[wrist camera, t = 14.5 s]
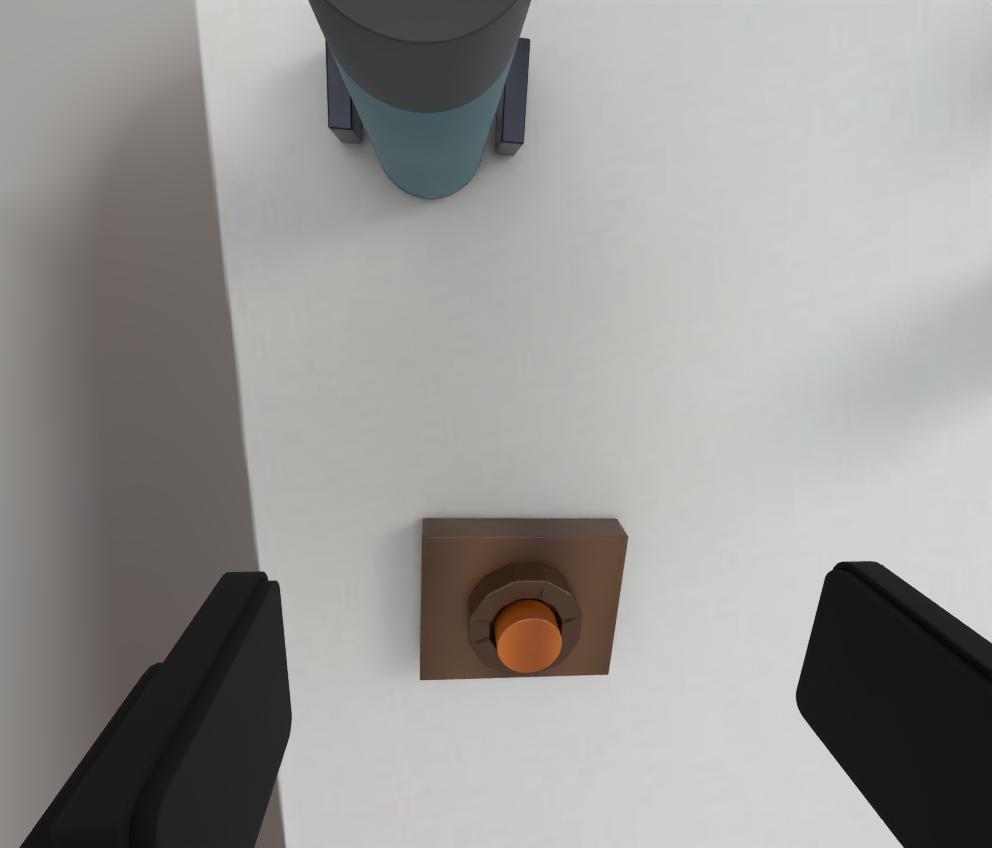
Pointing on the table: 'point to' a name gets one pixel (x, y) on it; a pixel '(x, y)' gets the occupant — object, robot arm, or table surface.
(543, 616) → the button
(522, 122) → the bracket
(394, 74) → the teal capped cylinder
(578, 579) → the control block
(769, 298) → the table surface
